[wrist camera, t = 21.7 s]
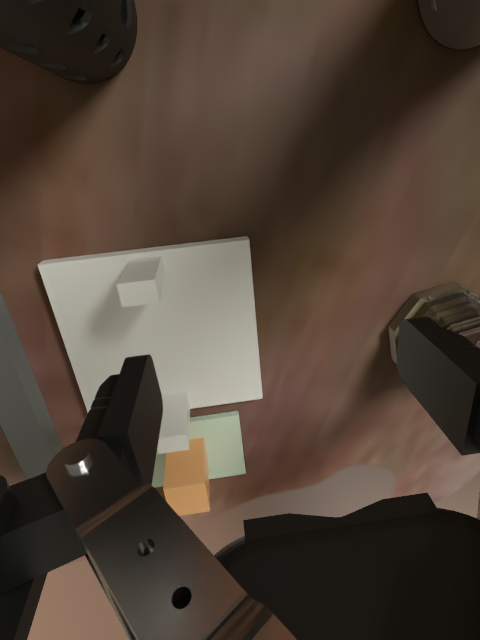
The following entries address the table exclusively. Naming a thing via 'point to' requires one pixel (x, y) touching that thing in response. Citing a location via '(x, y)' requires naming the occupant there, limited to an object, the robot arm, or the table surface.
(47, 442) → the strap
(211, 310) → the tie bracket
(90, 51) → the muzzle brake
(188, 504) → the orange block
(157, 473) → the mat
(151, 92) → the table surface
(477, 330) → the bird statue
